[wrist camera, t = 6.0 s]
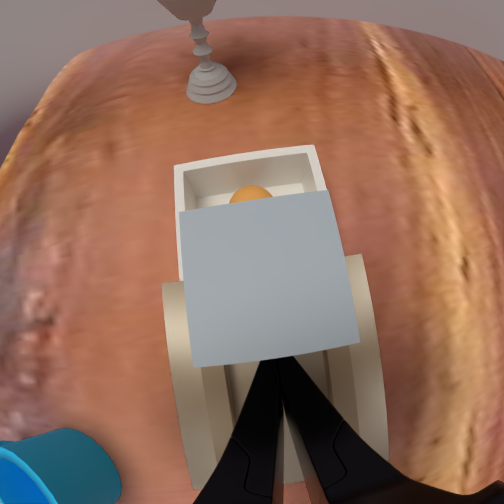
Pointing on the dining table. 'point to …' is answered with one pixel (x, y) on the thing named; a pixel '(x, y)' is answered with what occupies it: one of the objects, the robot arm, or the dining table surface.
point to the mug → (57, 470)
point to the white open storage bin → (244, 178)
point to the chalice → (202, 54)
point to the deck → (241, 375)
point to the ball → (249, 194)
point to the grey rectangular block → (265, 280)
